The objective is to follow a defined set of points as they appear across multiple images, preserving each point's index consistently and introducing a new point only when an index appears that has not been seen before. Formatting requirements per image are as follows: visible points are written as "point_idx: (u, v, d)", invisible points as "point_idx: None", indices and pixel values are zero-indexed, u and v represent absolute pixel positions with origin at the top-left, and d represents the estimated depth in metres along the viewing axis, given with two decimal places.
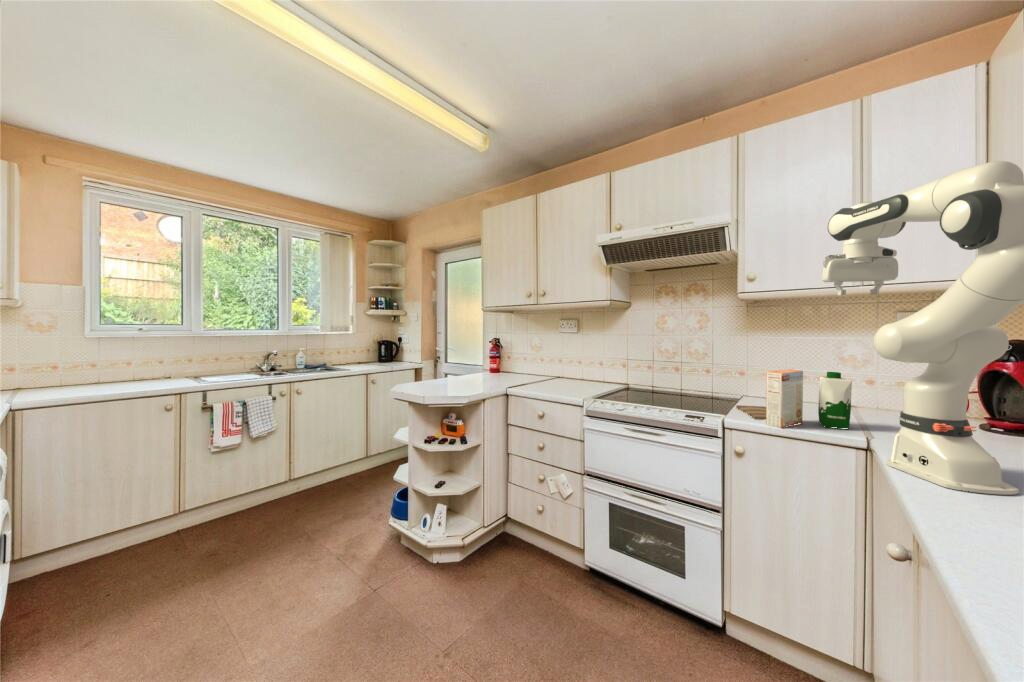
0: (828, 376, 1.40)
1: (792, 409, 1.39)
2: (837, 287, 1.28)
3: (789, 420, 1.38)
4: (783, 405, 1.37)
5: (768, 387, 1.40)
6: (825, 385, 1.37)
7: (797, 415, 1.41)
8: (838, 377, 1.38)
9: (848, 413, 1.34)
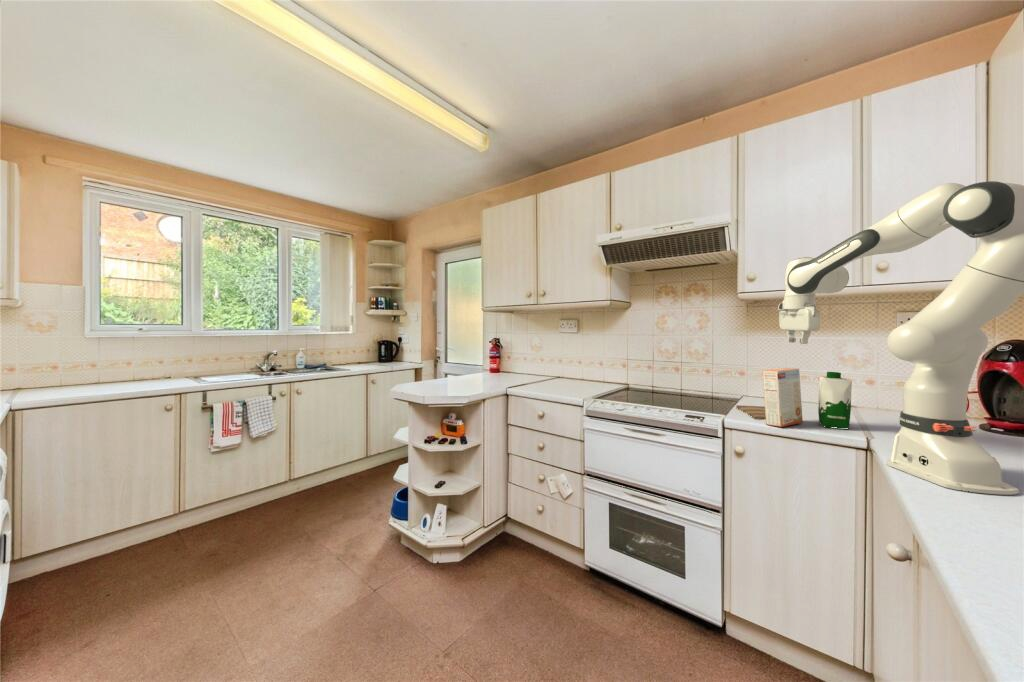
0: (828, 376, 1.40)
1: (791, 407, 1.39)
2: (806, 336, 1.28)
3: (788, 418, 1.38)
4: (781, 403, 1.37)
5: (765, 386, 1.41)
6: (825, 385, 1.37)
7: (797, 413, 1.41)
8: (838, 377, 1.38)
9: (848, 413, 1.34)
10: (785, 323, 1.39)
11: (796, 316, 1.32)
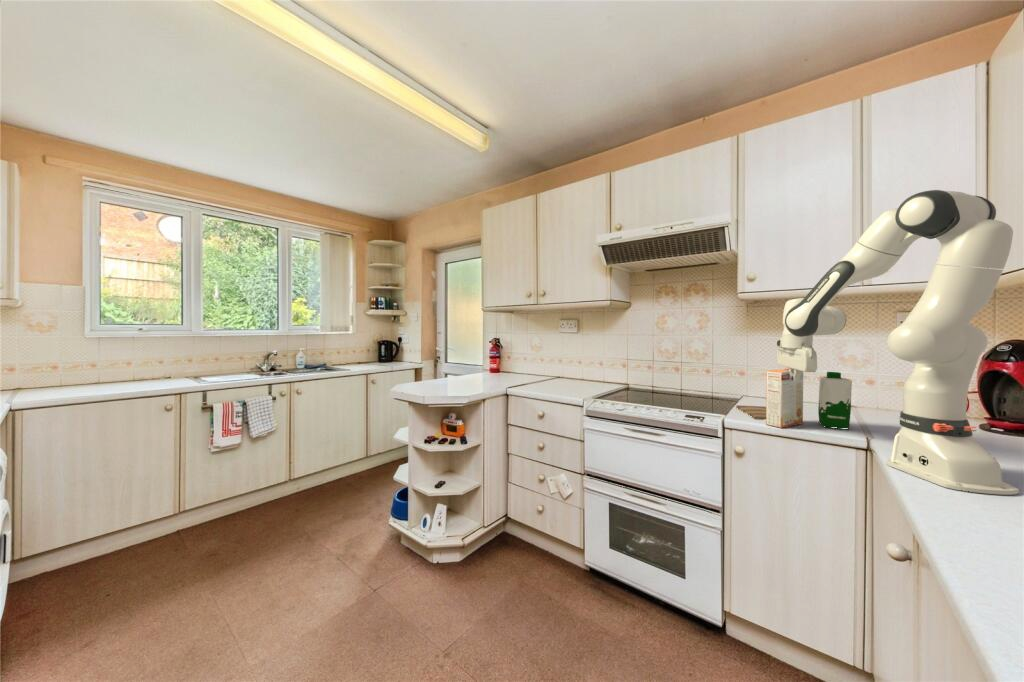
0: (828, 376, 1.40)
1: (792, 408, 1.39)
2: (798, 374, 1.33)
3: (789, 420, 1.38)
4: (783, 405, 1.36)
5: (768, 386, 1.40)
6: (825, 385, 1.37)
7: (797, 414, 1.40)
8: (838, 377, 1.38)
9: (848, 413, 1.34)
10: (783, 360, 1.40)
11: (794, 355, 1.33)
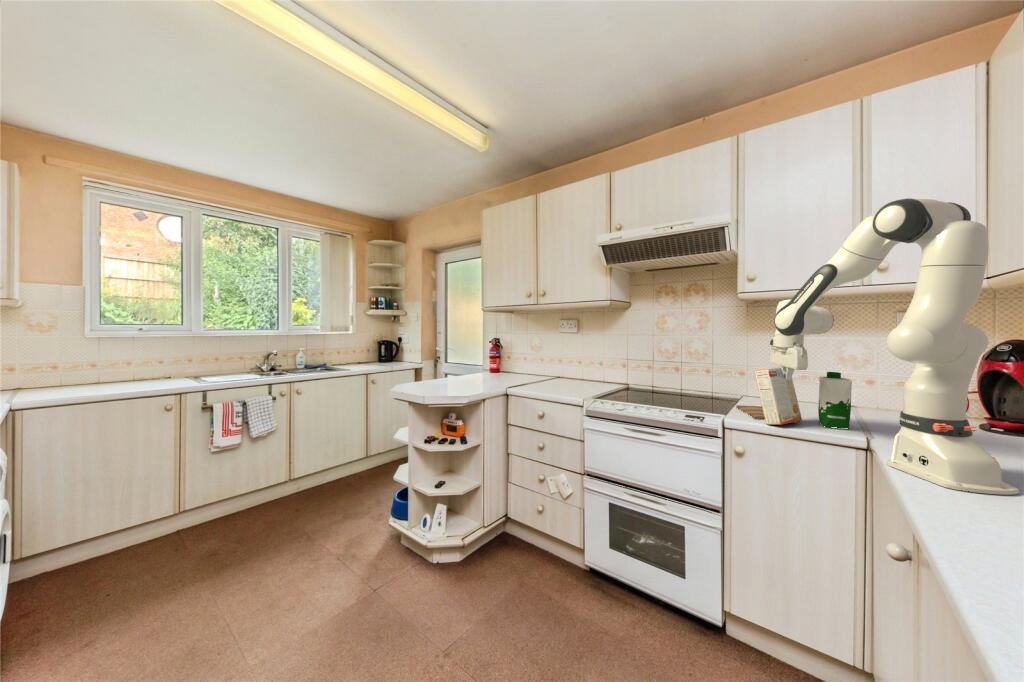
0: (828, 376, 1.40)
1: (787, 404, 1.40)
2: (790, 372, 1.38)
3: (787, 416, 1.39)
4: (777, 401, 1.38)
5: (759, 385, 1.43)
6: (825, 385, 1.37)
7: (794, 410, 1.41)
8: (838, 377, 1.38)
9: (848, 413, 1.34)
10: (775, 358, 1.45)
11: (786, 354, 1.38)
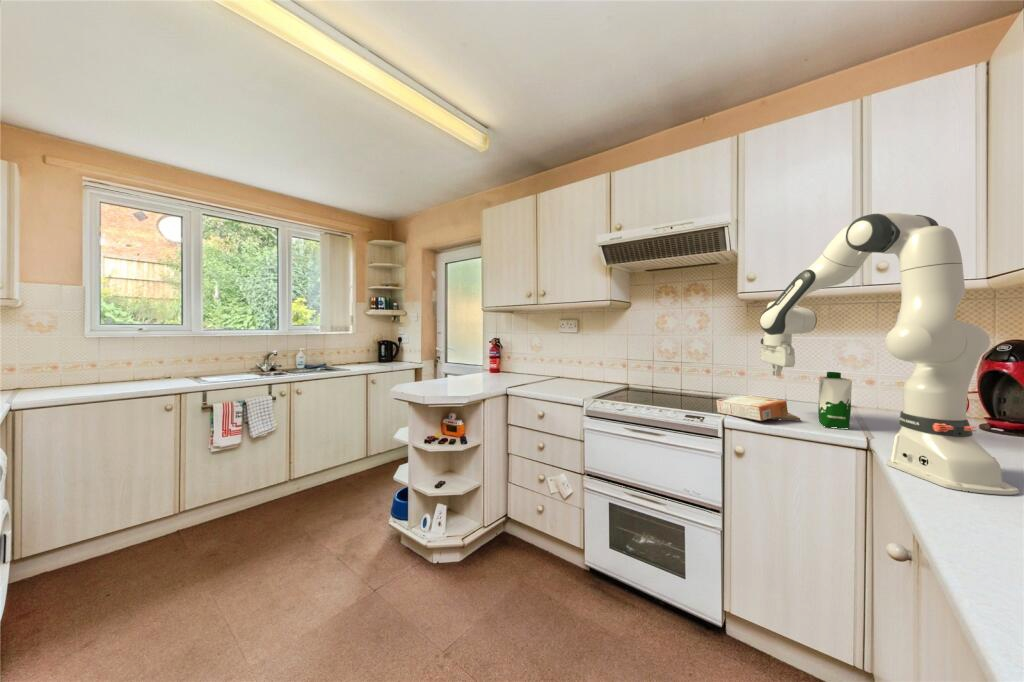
0: (828, 376, 1.40)
1: (756, 401, 1.49)
2: (779, 369, 1.47)
3: (762, 403, 1.45)
4: (742, 403, 1.50)
5: (728, 412, 1.55)
6: (825, 385, 1.37)
7: (769, 400, 1.48)
8: (838, 377, 1.38)
9: (848, 413, 1.34)
10: (766, 356, 1.54)
11: (775, 352, 1.47)
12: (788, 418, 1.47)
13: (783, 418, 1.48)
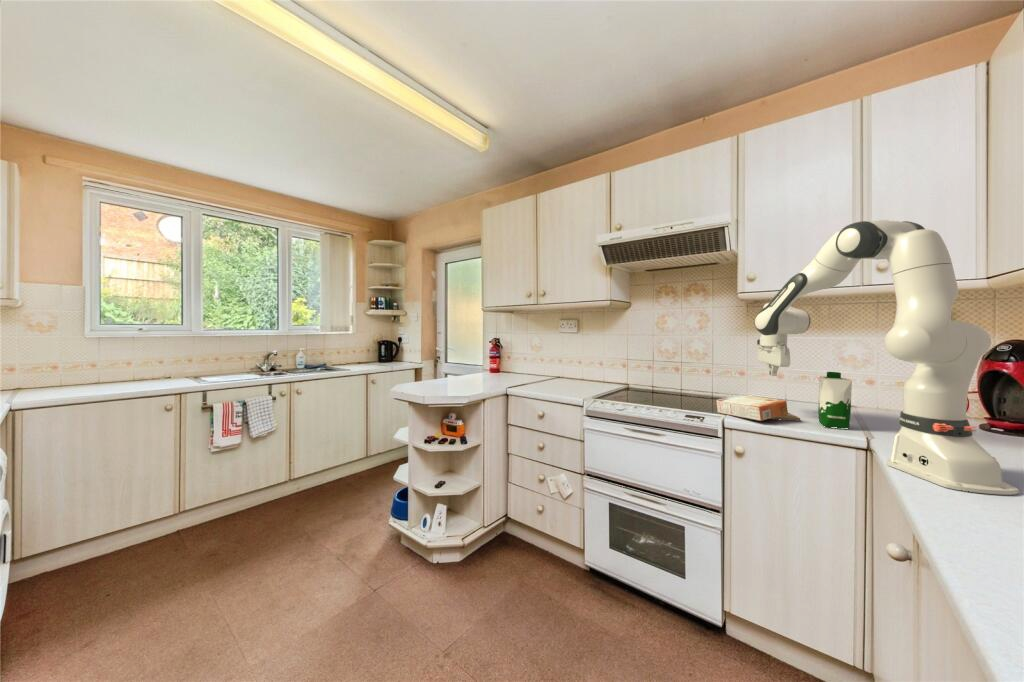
0: (828, 376, 1.40)
1: (756, 401, 1.49)
2: (775, 369, 1.50)
3: (762, 403, 1.45)
4: (742, 403, 1.50)
5: (728, 412, 1.55)
6: (825, 385, 1.37)
7: (769, 400, 1.48)
8: (838, 377, 1.38)
9: (848, 413, 1.34)
10: (762, 357, 1.57)
11: (771, 352, 1.50)
12: (788, 418, 1.47)
13: (783, 418, 1.48)
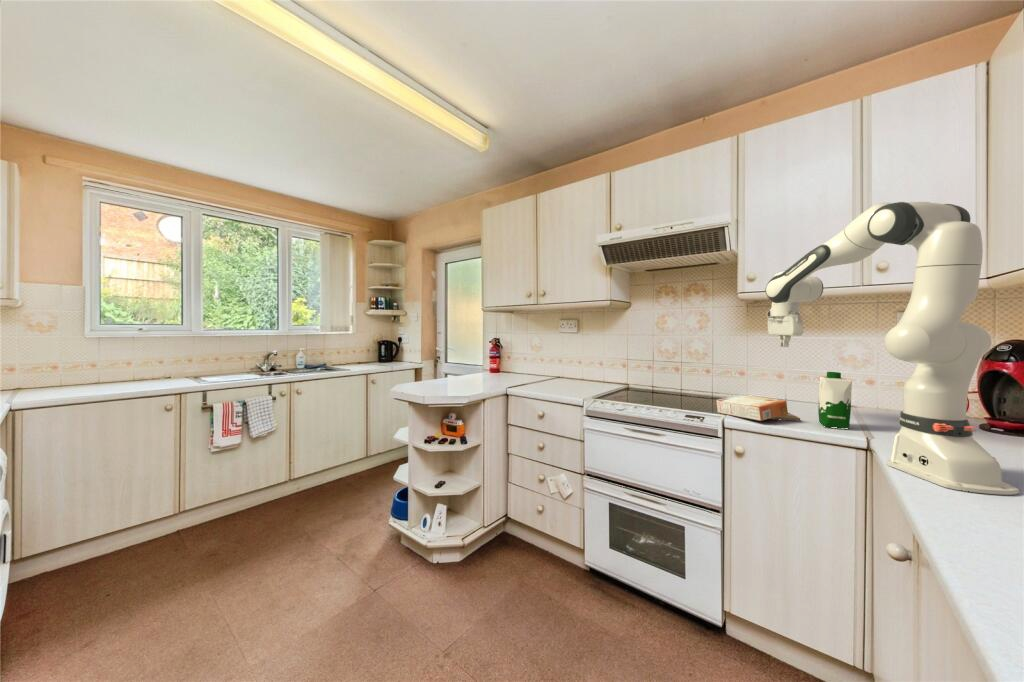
0: (828, 376, 1.40)
1: (756, 401, 1.49)
2: (787, 340, 1.46)
3: (762, 403, 1.45)
4: (742, 403, 1.50)
5: (728, 412, 1.55)
6: (825, 385, 1.37)
7: (769, 400, 1.48)
8: (838, 377, 1.38)
9: (848, 413, 1.34)
10: (773, 329, 1.54)
11: (782, 322, 1.47)
12: (788, 418, 1.47)
13: (783, 418, 1.48)
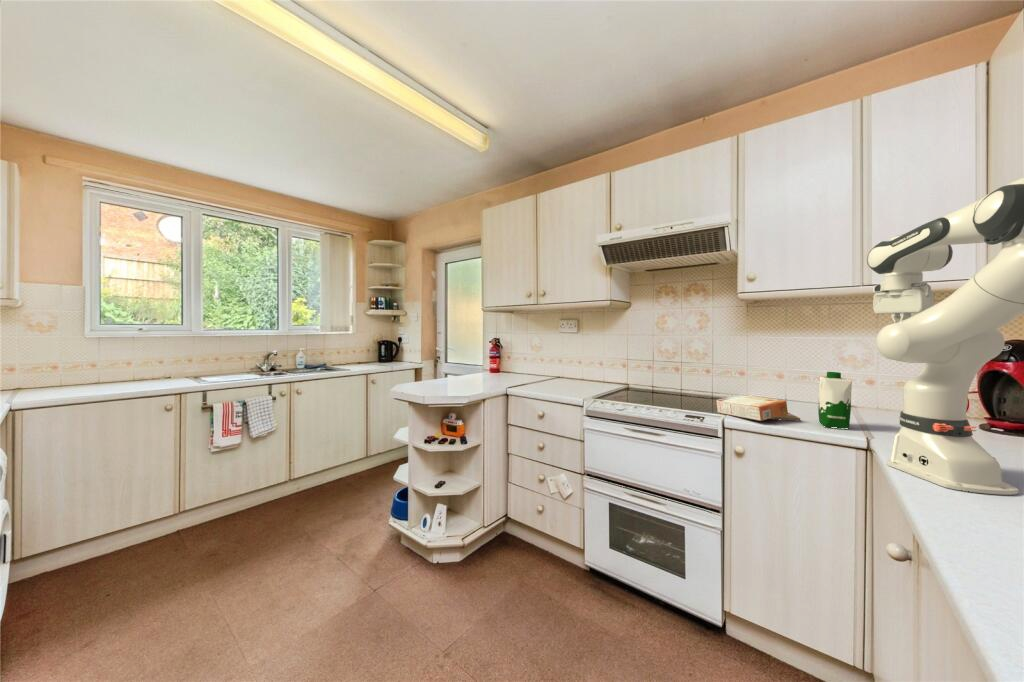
0: (828, 376, 1.40)
1: (756, 401, 1.49)
2: (906, 318, 1.22)
3: (762, 403, 1.45)
4: (742, 403, 1.50)
5: (728, 412, 1.55)
6: (825, 385, 1.37)
7: (769, 400, 1.48)
8: (838, 377, 1.38)
9: (848, 413, 1.34)
10: (883, 306, 1.29)
11: (900, 297, 1.22)
12: (788, 418, 1.47)
13: (783, 418, 1.48)
